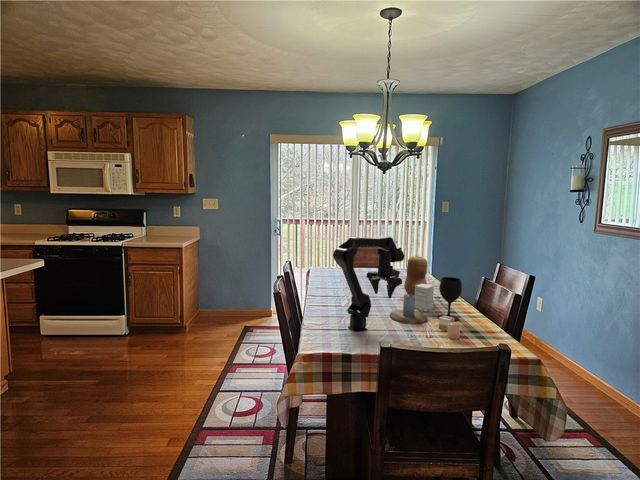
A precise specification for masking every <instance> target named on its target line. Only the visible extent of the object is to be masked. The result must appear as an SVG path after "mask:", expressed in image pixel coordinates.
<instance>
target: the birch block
mask: <svg viewBox="0 0 640 480" xmlns="http://www.w3.org/2000/svg"><path fill="white" fill-rule="evenodd" d="M449 322H454V318H453V317H448V316H442V317H440V318H438V329H440V330H444V331H447V332H448V323H449Z"/></svg>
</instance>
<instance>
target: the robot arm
mask: <svg viewBox="0 0 640 480" xmlns="http://www.w3.org/2000/svg"><path fill="white" fill-rule="evenodd" d="M359 247H373V248H374V247H375V248H378V249H377V250H376V251H375V252H374V254H375V255H378V257H377V258H378V259H377V261H378V262H377V264H376V265H375V268H377V271H376V270H374V271H368V272H367V273H366V279H367V280H368V281H369V283H370V285H371V286H372V287H371V288H372V289H373V292H374V294H375V295H377V294H378V293H379V283H380V281H381V280H383V281H385V282H386V283H387V284H386V291H387V297H388V299H389V300H390V299H392V297H393V295H394V291H395V290H396V288H397V287H400V286H402V285H403V279H402V278H401V277H400V273H401V271H399V270H397V269H394V267H393V265H392V264H391V263H398V262H399V263H400V262H403V261H404V259H405V252H404V251H403V250H402V247H400V246H399V247H397V245H396V243H395V241H394V238H393V236H392V237H391V236H385V235H378V236H375V237H358V236H351V237H349V238H348V239H347V240H346V241H344V242H342V243H341V244H340V245H339V246H338V247H337V248H335V250H334V251H333V253H332V258H333V259H334V261H335V263H336V264H337V266H339V268H340V269H341V270H342V272H343V275H344V278H345V280H346V284H347V285H348V289H349V291H350V293H351V298H350V302H351V304H350V305H349V306H348V308H347V310H346V311H347V314H348V315H350V317H349V325H348V326H347V328H348V329H350V330H352V331H353V332H360V331H367V330H368V328H367V318H369V316H370V311H371V309H372V300H371V298H370V295H369V294H367V293H364V292H363V290H362V287H361V285H360V281H359V279H358V276H357V274H356V271H355V268H354V262H355V258H354V257H355V256H356V255H357V252H358V250H359Z"/></svg>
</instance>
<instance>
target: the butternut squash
mask: <svg viewBox="0 0 640 480" xmlns="http://www.w3.org/2000/svg"><path fill="white" fill-rule="evenodd" d="M427 272H428V261H427V258H425V257H423V256H419V255H418V256H417V255H412V256H410V257H409V258H408V259H407V266H406V277H405V280H404V284H403V286H404V287H403V288H404V291H405V293H406V294H412V295H415V286H416V285H419V284H427V285H428V283H427V280H426V275H427Z"/></svg>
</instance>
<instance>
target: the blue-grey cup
mask: <svg viewBox="0 0 640 480" xmlns="http://www.w3.org/2000/svg"><path fill="white" fill-rule="evenodd" d="M402 301H403V302H402V310H403V316H405V317H414V312H415V311H416V310H415V295H412V294H407V293H406V294H405V293H404V294H403V300H402Z"/></svg>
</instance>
